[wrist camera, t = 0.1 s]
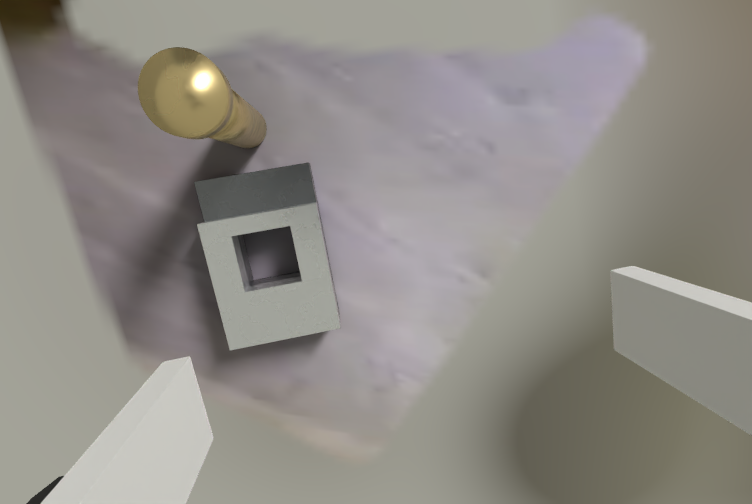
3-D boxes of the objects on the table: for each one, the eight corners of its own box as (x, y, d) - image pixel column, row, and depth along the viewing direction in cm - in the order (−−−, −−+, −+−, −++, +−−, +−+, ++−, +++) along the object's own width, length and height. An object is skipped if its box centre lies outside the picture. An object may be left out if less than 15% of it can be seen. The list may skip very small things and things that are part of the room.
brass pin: (215, 106, 36) (126, 54, 20) (265, 98, 36) (215, 41, 21) (227, 156, 37) (151, 143, 21) (275, 148, 37) (235, 129, 22)
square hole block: (201, 181, 37) (185, 182, 33) (309, 163, 38) (307, 161, 34) (239, 333, 40) (229, 350, 36) (339, 313, 41) (340, 328, 37)
